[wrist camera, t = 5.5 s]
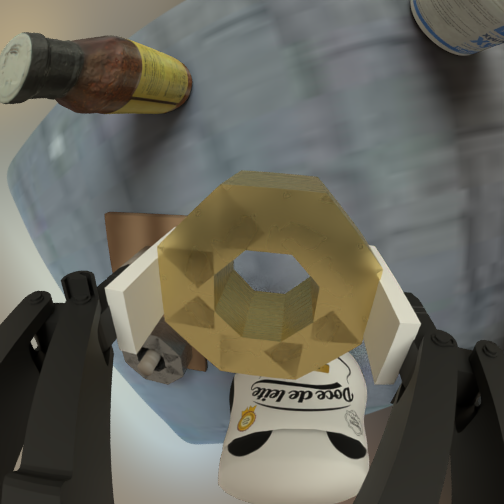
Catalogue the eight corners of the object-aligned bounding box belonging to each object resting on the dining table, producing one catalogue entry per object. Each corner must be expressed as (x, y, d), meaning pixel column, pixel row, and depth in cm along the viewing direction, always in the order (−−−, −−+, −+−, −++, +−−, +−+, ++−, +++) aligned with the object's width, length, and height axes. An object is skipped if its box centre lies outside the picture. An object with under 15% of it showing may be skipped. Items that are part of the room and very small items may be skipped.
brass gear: (369, 183, 13) (396, 203, 9) (339, 332, 16) (347, 382, 12) (190, 168, 14) (153, 181, 10) (194, 316, 17) (171, 361, 13)
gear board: (200, 216, 31) (175, 238, 24) (207, 367, 39) (193, 402, 33) (108, 211, 32) (73, 230, 26) (134, 351, 41) (113, 381, 34)
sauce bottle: (172, 49, 24) (33, -14, 6) (207, 86, 26) (71, 32, 7) (130, 91, 26) (-23, 80, 8) (161, 128, 28) (4, 143, 10)
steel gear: (188, 321, 35) (177, 340, 32) (194, 368, 39) (185, 388, 35) (129, 310, 36) (115, 327, 33) (140, 356, 40) (129, 374, 36)
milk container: (324, 301, 33) (336, 436, 16) (378, 382, 37) (398, 489, 20) (212, 356, 38) (170, 467, 22) (280, 420, 42) (268, 515, 26)
